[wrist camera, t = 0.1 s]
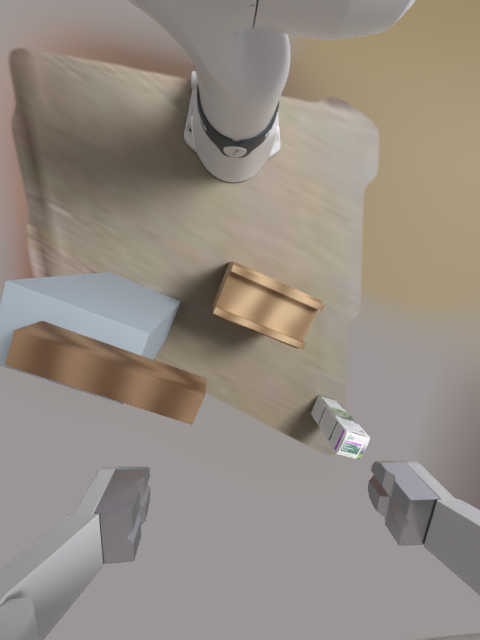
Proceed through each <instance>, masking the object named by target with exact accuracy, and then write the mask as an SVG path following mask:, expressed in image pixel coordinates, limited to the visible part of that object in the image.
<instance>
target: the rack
mask: <svg viewBox="0 0 480 640" xmlns="http://www.w3.org/2000/svg"><path fill="white" fill-rule="evenodd" d="M321 303H322V301H320V300H318V299H316V298H314V297H311V296H309V295H307V294H305V293H303V292H300V291H298V290H296V289H294V288H291V287H289V286H287V285H285V284H283V283H280V282H278V281H276V280H274V279H271V278H269V277H267V276H265V275H262V274H260V273H258V272H256V271H254V270H251V269H249V268H247V267H245V266H242V265H240V264H238V263H236V262H229V264H228V267H227V269H226V272H225V274H224V276H223V279H222V281H221V284H220V286H219V288H218V291H217V293H216V296H215V298H214V302H213V311H212V314H213V315H215V316H218V317H220V318H223V319H225V320H228V321H230V322H233V323H235V324H238V325H240V326H243V327H245V328H248V329H250V330H252V331H255V332H257V333H260V334H262V335H265V336H267V337H270V338H272V339H275V340H277V341H280V342H282V343H285V344H287V345H290V346H292V347H295V348H297V349H299V348H300V349H303V348H304V346H305V343H304V342H303V339H304V337H305V335H306V333H307V331H308V329H309V327H310V325H311V323H312V321H313V319H314V317H315V315H316V313H317V311H318V310H320V311H322V310H323V308H324V306H325V305H322V304H321Z"/></svg>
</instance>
